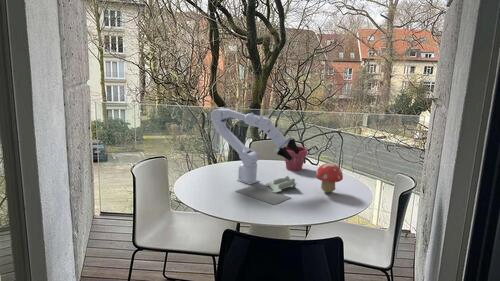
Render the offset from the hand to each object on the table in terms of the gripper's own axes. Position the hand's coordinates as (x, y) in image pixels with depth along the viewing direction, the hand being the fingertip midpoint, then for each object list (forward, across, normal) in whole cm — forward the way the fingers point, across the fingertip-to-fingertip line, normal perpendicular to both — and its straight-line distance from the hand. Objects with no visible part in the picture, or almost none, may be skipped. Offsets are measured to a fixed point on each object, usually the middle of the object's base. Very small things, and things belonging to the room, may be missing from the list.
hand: (294, 156), depth 188 cm
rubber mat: (+3, -22, +12) cm, 26 cm away
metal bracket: (+8, -9, +13) cm, 18 cm away
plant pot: (+5, +26, +30) cm, 39 cm away
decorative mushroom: (+24, +1, +1) cm, 24 cm away
